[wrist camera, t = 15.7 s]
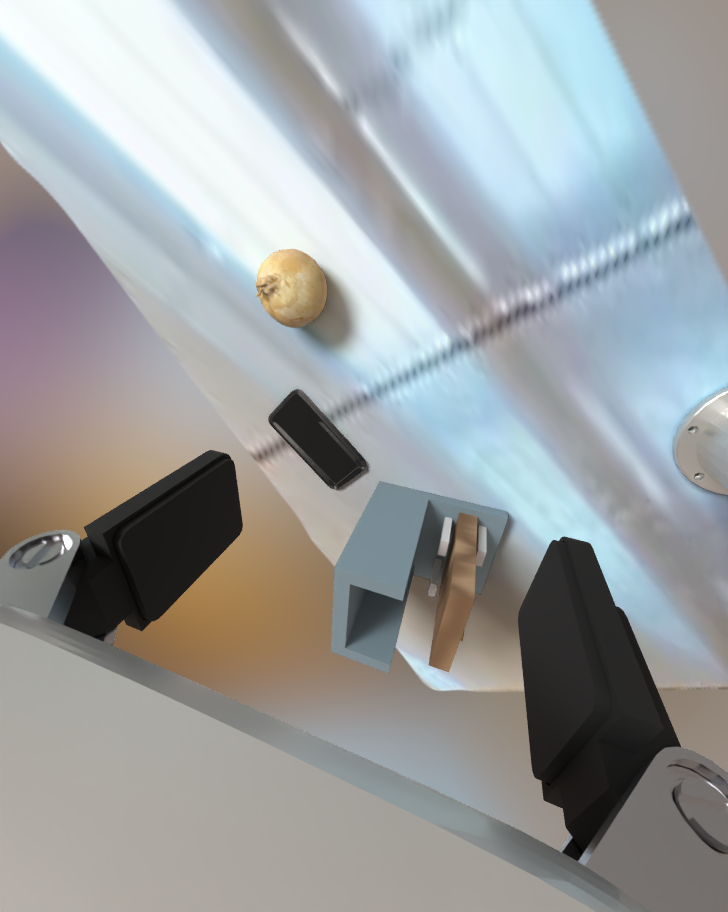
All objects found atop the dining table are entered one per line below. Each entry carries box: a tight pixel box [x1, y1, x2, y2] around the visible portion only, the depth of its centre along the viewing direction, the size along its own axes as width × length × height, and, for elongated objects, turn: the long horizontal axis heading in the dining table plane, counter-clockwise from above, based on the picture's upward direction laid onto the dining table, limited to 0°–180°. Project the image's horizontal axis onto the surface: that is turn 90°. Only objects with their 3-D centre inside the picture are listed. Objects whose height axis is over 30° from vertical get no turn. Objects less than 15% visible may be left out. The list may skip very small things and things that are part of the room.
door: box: [429, 512, 477, 672], centre depth 43 cm, size 3×13×14 cm, turn 175°
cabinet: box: [331, 482, 508, 673], centre depth 44 cm, size 18×15×18 cm
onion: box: [255, 249, 327, 328], centre depth 37 cm, size 8×8×7 cm
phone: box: [268, 389, 366, 489], centre depth 49 cm, size 8×1×15 cm
